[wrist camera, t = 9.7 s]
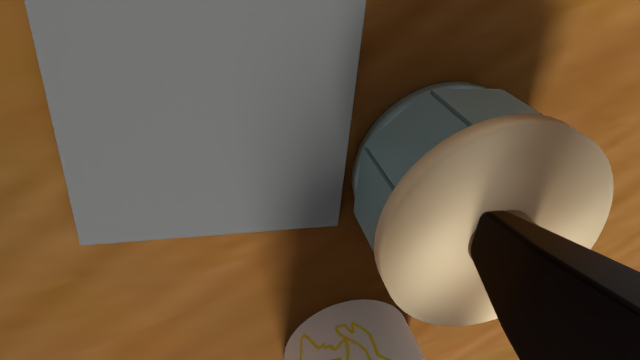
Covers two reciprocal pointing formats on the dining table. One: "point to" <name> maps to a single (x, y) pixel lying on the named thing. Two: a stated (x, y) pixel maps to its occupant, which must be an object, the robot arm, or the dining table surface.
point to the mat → (199, 112)
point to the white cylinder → (354, 334)
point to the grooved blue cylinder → (417, 138)
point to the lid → (485, 208)
